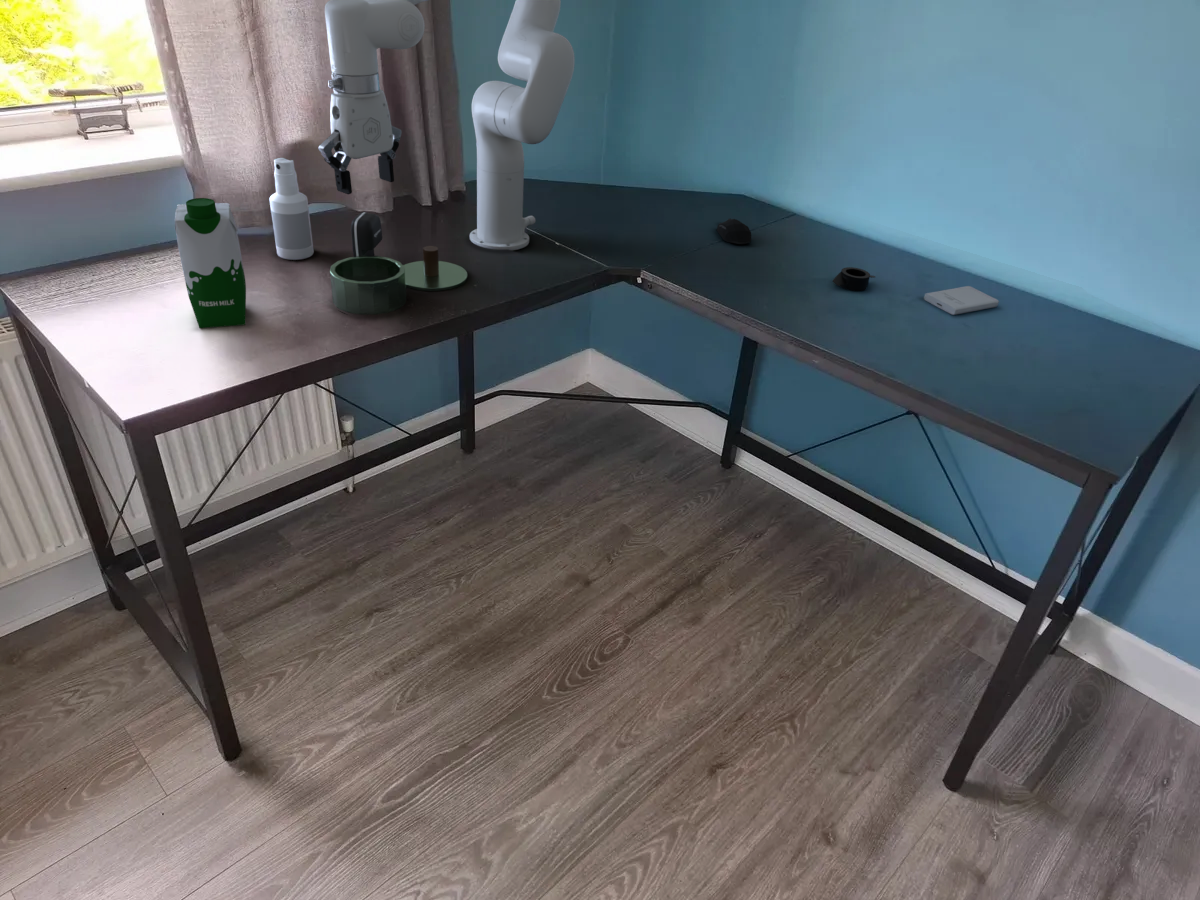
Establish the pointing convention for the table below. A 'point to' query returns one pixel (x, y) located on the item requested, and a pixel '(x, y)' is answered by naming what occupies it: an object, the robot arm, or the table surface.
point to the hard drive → (961, 300)
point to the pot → (368, 285)
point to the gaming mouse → (734, 232)
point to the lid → (433, 273)
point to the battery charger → (365, 234)
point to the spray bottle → (290, 214)
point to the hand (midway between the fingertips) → (366, 186)
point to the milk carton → (211, 262)
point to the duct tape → (853, 279)
